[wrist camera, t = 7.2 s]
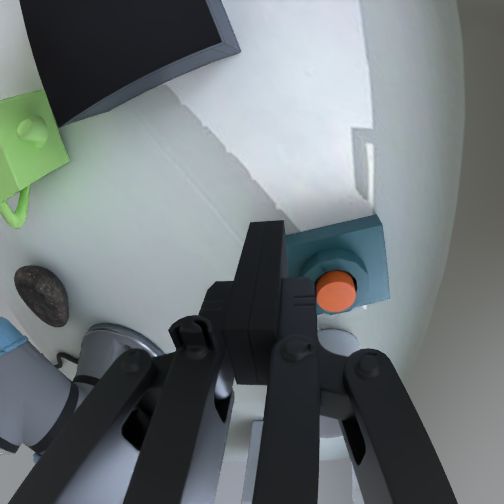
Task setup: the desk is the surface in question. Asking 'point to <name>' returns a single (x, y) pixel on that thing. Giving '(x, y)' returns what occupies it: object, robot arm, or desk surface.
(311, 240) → the stop button base
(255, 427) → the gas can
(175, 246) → the desk surface
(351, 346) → the mug
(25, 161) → the teapot
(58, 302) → the stone
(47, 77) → the black box
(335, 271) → the stop button
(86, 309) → the desk surface
